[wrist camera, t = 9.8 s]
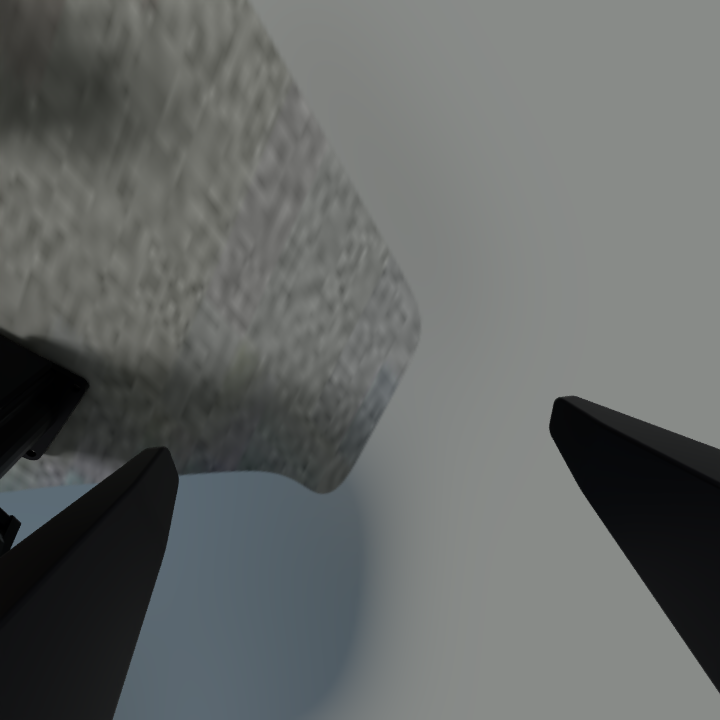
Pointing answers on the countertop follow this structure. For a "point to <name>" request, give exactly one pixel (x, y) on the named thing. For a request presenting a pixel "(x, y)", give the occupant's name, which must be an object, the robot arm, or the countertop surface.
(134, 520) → the robot arm
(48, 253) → the countertop surface
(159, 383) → the countertop surface
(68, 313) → the countertop surface
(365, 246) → the countertop surface
